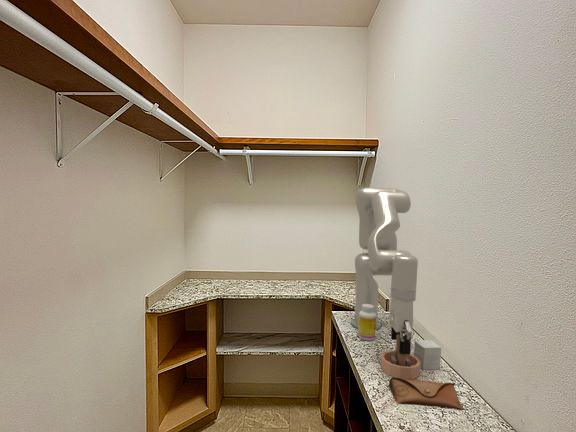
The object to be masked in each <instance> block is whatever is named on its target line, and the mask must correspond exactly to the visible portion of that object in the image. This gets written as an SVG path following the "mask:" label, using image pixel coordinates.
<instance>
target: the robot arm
mask: <svg viewBox="0 0 576 432" xmlns="http://www.w3.org/2000/svg"><path fill="white" fill-rule="evenodd" d="M355 203H356V204H355V205H356V209H357V212H358V218H359V224H358V225H359V226H358V227H359V228H358V229H359V230H358V244H359V247H360V248H361V249H363V250H367V252H362V253H359V254H357V255H356V256H355V258H354V270H355V300H354V301H355V302H354V303H355V304H354V318H352V319H350V325H351V326H352V327H354V328H356V329H358V327H359V312H360V311H362V305H363V304H371V305H373V306H374V310H373V312H375V313H376V331H377V330H379V329H380V328H381V327H382V326H381V325H382V324H381V322H379V321H378V305H379V284H378V282H377V281H376V280H375V278H374V276H385V277H386V276H391V280H390V281H391V282H390V298H391V301H390V308H389V317H388V319H389V320H388V321H389V325H390V326H391V328H390V329H391V330H390V331H391V332H390V339H391V341H396V336H397V335H400V336H401V340H400V344H399V353H400V354H411V348H412V335H413V327H414V326H413V325H414V302H416V297H417V280H418V268H419V267H418V264H419V260H418V258H417V257H416V256H415V255H412V254H411V253H410V251H407V250H401V249H400V250H398V239H397V234H396V232H397V231H398V230H399V229H400V228H401V222H400V217H399V215H398V214H406V213H408V212H409V211H410V208H411V205H412V203H411V198H410V195H409V193H407V192H406V191H405V190H402V189H399V188H393V187H392V188H391V187H389V188H388V187H374V186H373V187H372V186H371V187H363V188H360V189H358V190H357V192H356V194H355ZM403 336H404V337H403Z"/></svg>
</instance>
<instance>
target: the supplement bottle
mask: <svg viewBox="0 0 576 432" xmlns="http://www.w3.org/2000/svg"><path fill="white" fill-rule="evenodd" d="M373 310H374V306H373V305H371V304H363V305H362V311H360V312H359V327H358V328H357V330H358V331H357V332H358V333H357V336H358V338H359V339H360V340H363V341H374V340H375V339H376V332H377V330H376V313H375V312H373Z"/></svg>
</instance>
